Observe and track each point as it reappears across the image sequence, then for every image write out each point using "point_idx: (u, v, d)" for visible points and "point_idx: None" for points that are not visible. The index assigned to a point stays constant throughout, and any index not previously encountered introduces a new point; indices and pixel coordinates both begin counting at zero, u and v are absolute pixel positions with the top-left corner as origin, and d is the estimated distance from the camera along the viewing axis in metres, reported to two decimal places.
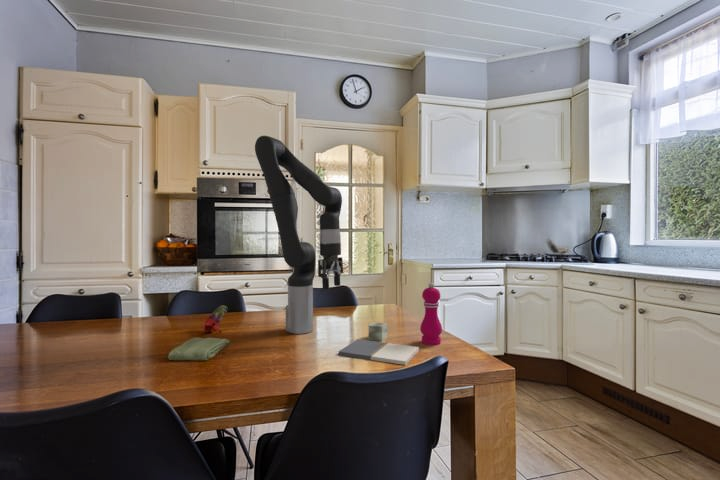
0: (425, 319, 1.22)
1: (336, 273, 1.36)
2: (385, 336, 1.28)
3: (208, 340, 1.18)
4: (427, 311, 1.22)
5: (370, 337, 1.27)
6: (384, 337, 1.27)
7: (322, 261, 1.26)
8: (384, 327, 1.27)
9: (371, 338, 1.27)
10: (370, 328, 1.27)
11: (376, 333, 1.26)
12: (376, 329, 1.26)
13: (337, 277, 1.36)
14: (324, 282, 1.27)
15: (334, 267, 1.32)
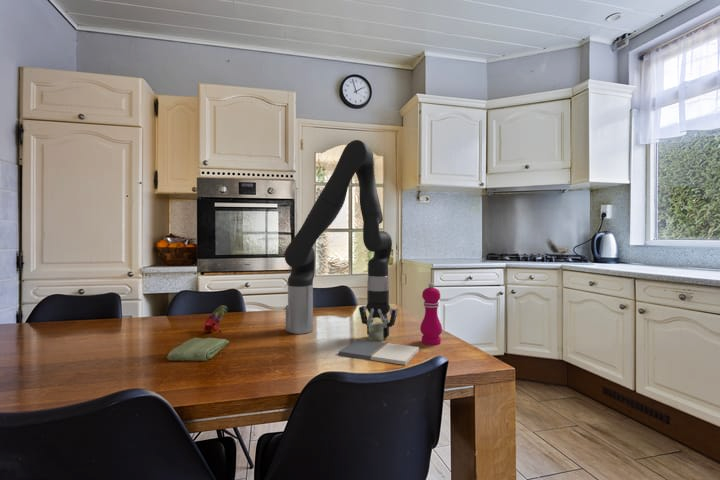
0: (425, 319, 1.22)
1: (370, 323, 1.29)
2: None
3: (208, 340, 1.17)
4: (427, 311, 1.22)
5: (370, 337, 1.27)
6: None
7: (396, 311, 1.26)
8: None
9: (371, 338, 1.27)
10: (370, 328, 1.27)
11: (376, 333, 1.26)
12: (376, 328, 1.26)
13: None
14: (388, 331, 1.27)
15: None
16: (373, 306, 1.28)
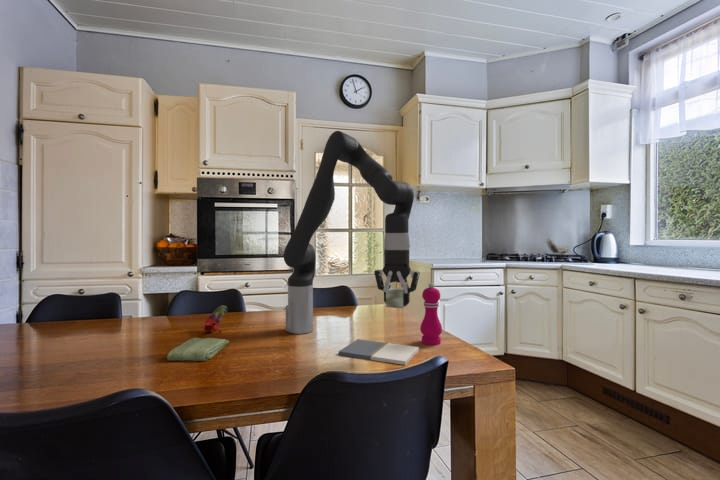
0: (425, 319, 1.22)
1: (387, 288, 1.11)
2: None
3: (207, 340, 1.17)
4: (427, 311, 1.22)
5: (388, 304, 1.09)
6: None
7: (418, 274, 1.08)
8: None
9: (389, 305, 1.09)
10: (388, 293, 1.09)
11: (395, 299, 1.08)
12: (394, 294, 1.08)
13: None
14: (408, 297, 1.09)
15: None
16: (391, 268, 1.10)
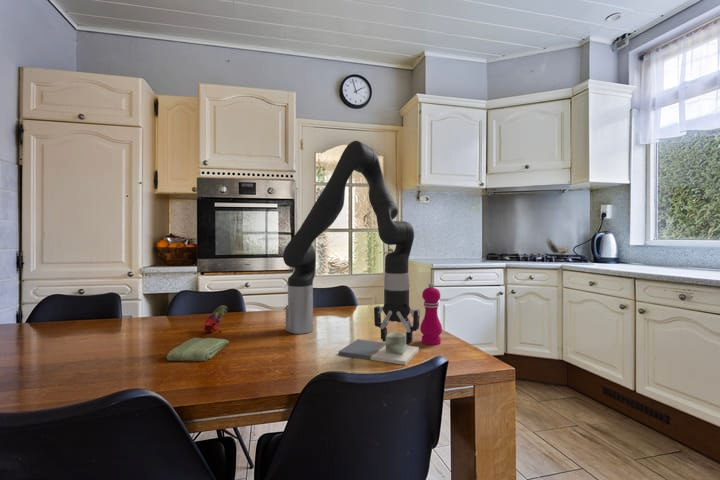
0: (425, 319, 1.22)
1: None
2: (405, 349, 1.10)
3: (207, 340, 1.17)
4: (427, 311, 1.22)
5: (388, 350, 1.09)
6: (404, 350, 1.10)
7: (419, 312, 1.08)
8: (404, 339, 1.10)
9: (389, 351, 1.09)
10: (388, 339, 1.09)
11: (395, 346, 1.08)
12: (394, 340, 1.08)
13: (386, 330, 1.12)
14: (411, 336, 1.09)
15: None
16: (391, 308, 1.10)
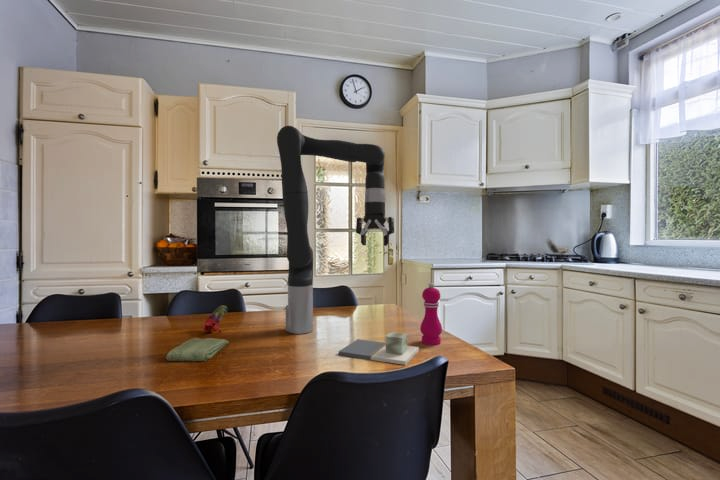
0: (425, 319, 1.22)
1: None
2: (405, 349, 1.10)
3: (207, 340, 1.17)
4: (427, 311, 1.22)
5: (388, 350, 1.09)
6: (404, 350, 1.10)
7: (392, 218, 1.33)
8: (404, 339, 1.10)
9: (389, 351, 1.09)
10: (388, 339, 1.09)
11: (395, 346, 1.08)
12: (394, 340, 1.08)
13: (365, 237, 1.38)
14: (388, 239, 1.34)
15: None
16: (370, 218, 1.35)
